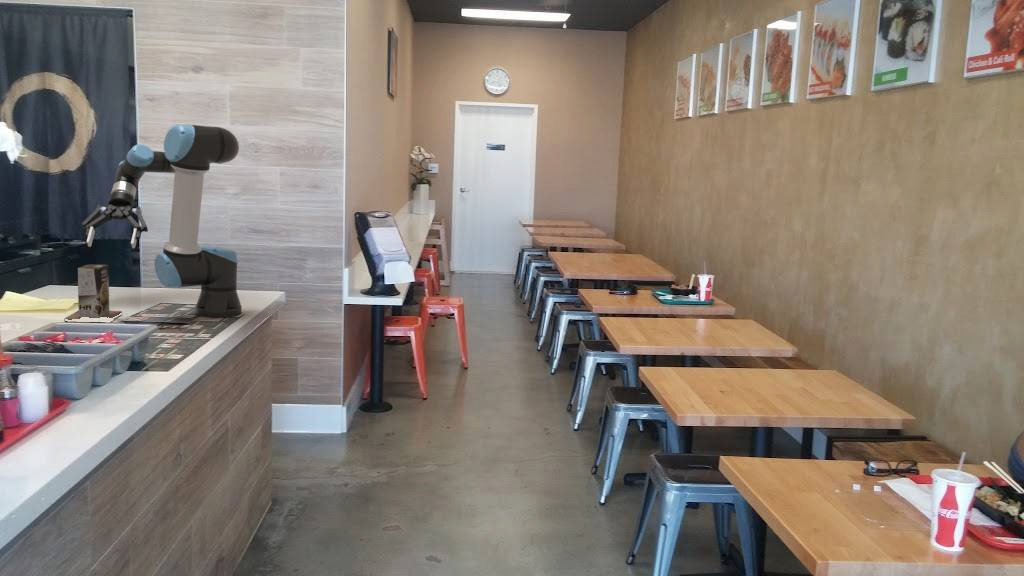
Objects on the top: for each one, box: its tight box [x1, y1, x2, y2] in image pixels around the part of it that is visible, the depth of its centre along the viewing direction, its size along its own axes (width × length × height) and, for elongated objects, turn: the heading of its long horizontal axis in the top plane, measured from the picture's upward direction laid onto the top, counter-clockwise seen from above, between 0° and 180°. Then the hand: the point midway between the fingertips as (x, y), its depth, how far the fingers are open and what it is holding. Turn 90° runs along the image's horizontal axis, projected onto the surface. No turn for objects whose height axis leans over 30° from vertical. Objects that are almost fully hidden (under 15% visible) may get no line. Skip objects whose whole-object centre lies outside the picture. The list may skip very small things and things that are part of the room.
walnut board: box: [64, 309, 123, 320], centre depth 245 cm, size 13×13×1 cm
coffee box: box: [77, 263, 110, 318], centre depth 243 cm, size 9×6×16 cm
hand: (110, 245), depth 254 cm, fingers open, 13 cm apart
